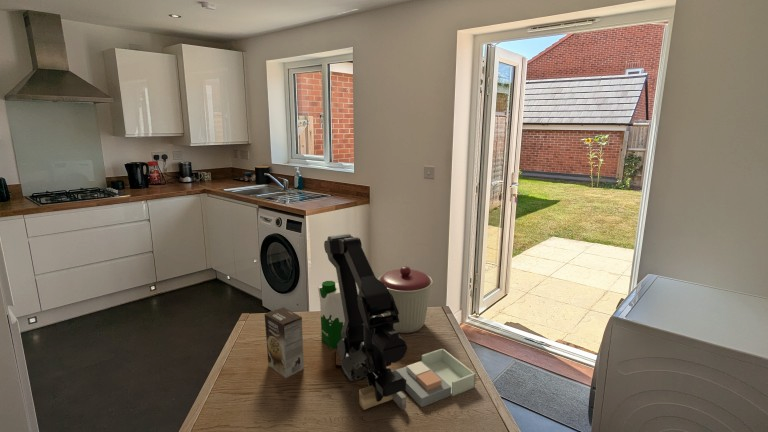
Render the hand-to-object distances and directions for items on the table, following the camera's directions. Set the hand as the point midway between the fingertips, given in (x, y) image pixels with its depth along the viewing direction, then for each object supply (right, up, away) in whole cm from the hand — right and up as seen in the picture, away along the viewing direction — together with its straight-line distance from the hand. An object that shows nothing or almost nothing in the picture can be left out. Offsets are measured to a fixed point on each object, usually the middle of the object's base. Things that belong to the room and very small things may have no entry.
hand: (376, 397), depth 101 cm
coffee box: (-26, +2, +15) cm, 30 cm away
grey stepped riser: (+12, 0, +7) cm, 14 cm away
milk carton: (-13, +5, +29) cm, 32 cm away
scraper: (0, -1, 0) cm, 1 cm away
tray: (+19, +1, +11) cm, 22 cm away
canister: (+9, +7, +39) cm, 40 cm away
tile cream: (+11, +3, +9) cm, 14 cm away
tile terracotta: (+13, +2, +4) cm, 14 cm away
